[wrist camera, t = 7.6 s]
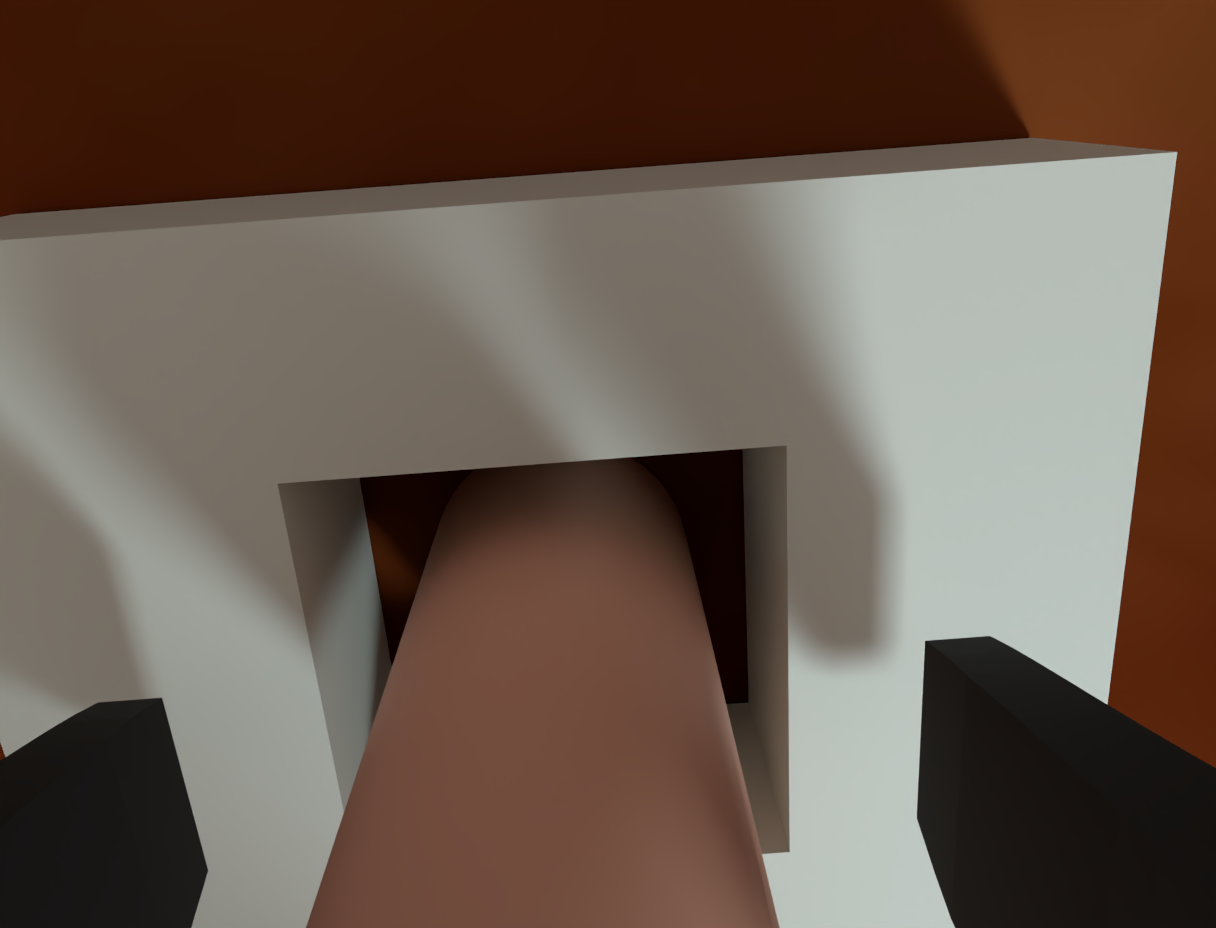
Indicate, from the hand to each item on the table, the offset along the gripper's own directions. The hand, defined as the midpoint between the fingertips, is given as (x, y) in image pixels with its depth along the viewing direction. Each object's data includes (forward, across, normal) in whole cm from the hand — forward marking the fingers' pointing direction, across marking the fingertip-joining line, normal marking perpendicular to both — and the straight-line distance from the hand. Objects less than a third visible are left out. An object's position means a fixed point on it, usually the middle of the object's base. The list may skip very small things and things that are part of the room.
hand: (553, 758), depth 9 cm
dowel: (+4, 0, 0) cm, 4 cm away
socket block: (+4, 0, 0) cm, 4 cm away
